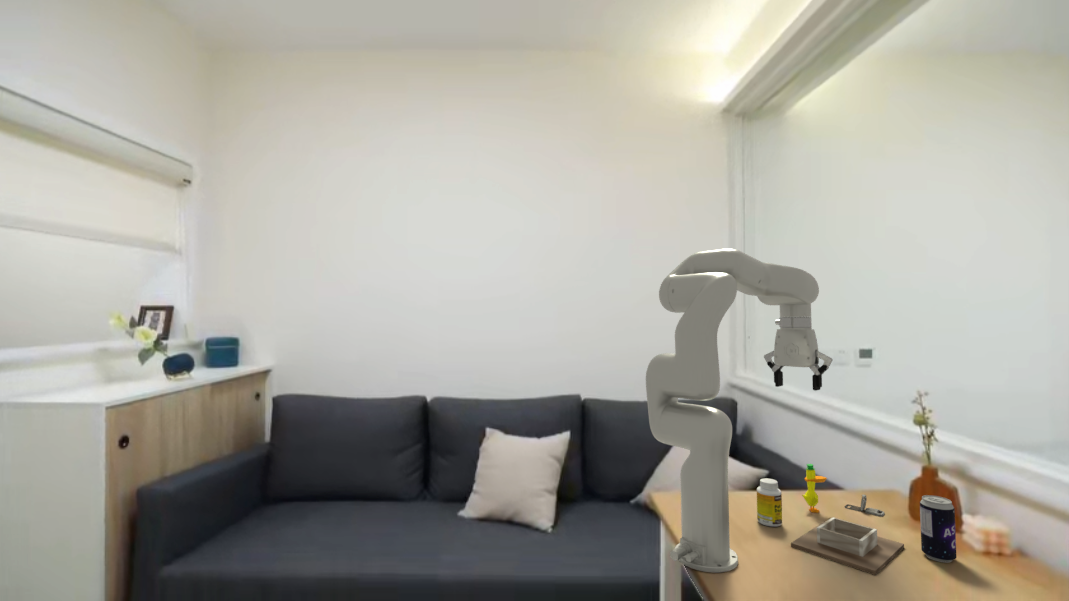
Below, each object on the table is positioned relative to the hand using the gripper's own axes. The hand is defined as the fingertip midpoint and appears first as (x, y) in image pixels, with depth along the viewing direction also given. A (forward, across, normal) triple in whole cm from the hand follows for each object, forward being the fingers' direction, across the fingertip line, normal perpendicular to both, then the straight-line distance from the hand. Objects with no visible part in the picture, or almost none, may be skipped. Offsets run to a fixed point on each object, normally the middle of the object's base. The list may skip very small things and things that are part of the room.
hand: (797, 388), depth 134 cm
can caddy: (+31, +17, -17) cm, 39 cm away
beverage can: (+31, +31, -8) cm, 45 cm away
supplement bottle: (+31, 0, -17) cm, 36 cm away
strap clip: (+32, +12, +9) cm, 35 cm away
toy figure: (+31, +4, -1) cm, 32 cm away
